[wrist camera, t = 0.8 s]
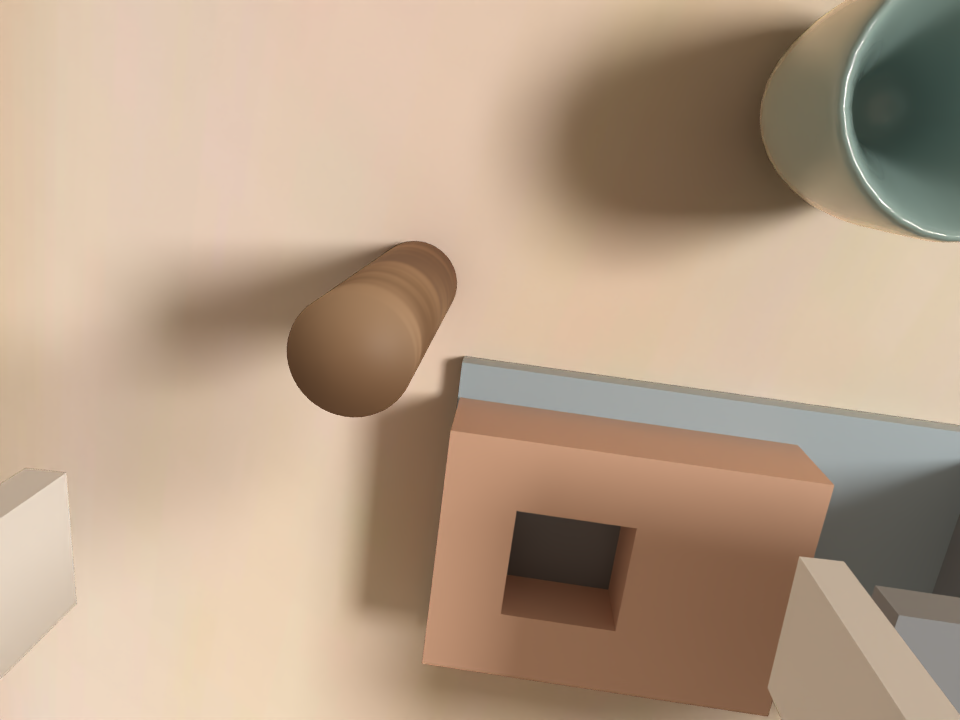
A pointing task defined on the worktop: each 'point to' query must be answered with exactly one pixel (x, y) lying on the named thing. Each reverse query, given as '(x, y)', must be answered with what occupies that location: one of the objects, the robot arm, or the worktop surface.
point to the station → (678, 532)
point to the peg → (372, 331)
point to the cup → (872, 116)
